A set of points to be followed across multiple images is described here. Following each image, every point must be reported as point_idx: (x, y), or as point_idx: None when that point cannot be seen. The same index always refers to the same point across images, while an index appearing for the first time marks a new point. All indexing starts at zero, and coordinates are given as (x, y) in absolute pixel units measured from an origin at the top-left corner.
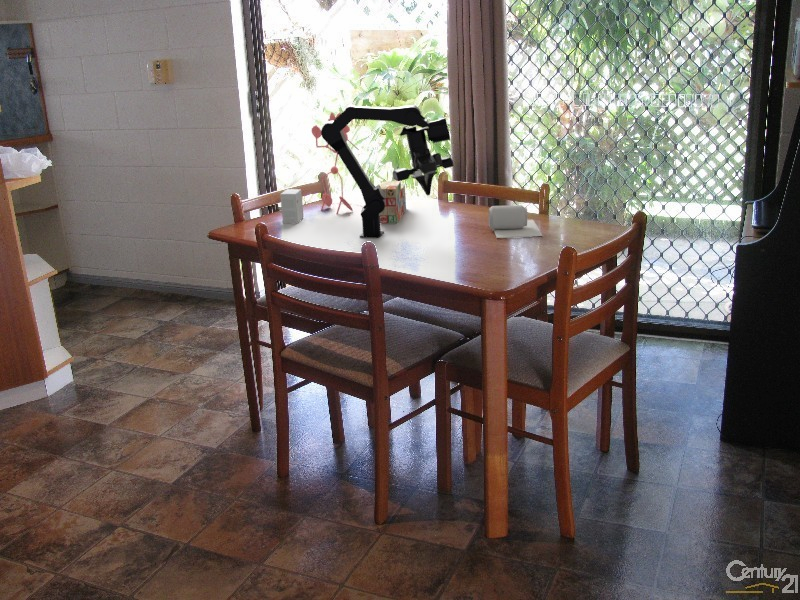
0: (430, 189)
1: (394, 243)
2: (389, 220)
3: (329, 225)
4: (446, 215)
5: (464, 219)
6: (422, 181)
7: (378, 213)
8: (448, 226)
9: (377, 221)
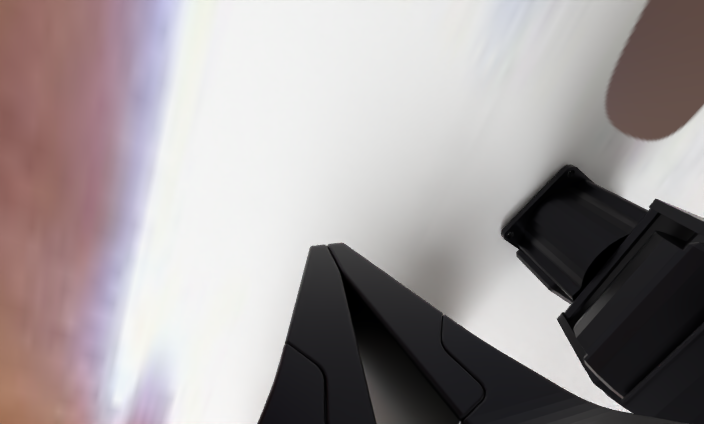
0: (305, 282)
1: (564, 25)
2: None
3: (581, 385)
4: (147, 383)
5: (66, 308)
6: (524, 399)
7: (685, 213)
8: (176, 223)
9: (608, 224)
